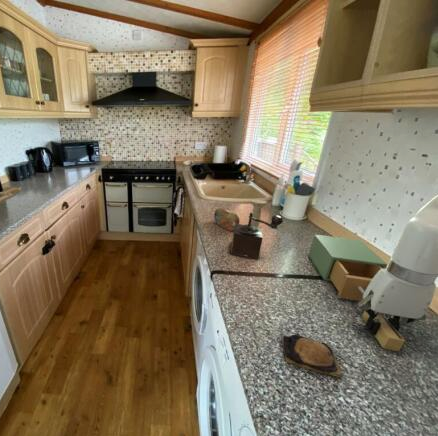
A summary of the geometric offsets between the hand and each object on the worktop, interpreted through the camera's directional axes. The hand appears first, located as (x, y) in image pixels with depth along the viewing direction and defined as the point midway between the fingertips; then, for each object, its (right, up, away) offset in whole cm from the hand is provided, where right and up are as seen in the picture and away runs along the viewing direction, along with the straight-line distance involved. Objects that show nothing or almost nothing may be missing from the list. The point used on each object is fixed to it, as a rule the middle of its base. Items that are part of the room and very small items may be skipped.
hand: (379, 331), depth 61 cm
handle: (-8, +22, +54) cm, 59 cm away
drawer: (+6, +6, +14) cm, 17 cm away
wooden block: (0, 0, 0) cm, 0 cm away
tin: (-20, +24, +59) cm, 67 cm away
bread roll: (-22, -3, -6) cm, 22 cm away
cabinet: (+10, +10, +25) cm, 29 cm away
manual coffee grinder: (-17, +15, +36) cm, 43 cm away
